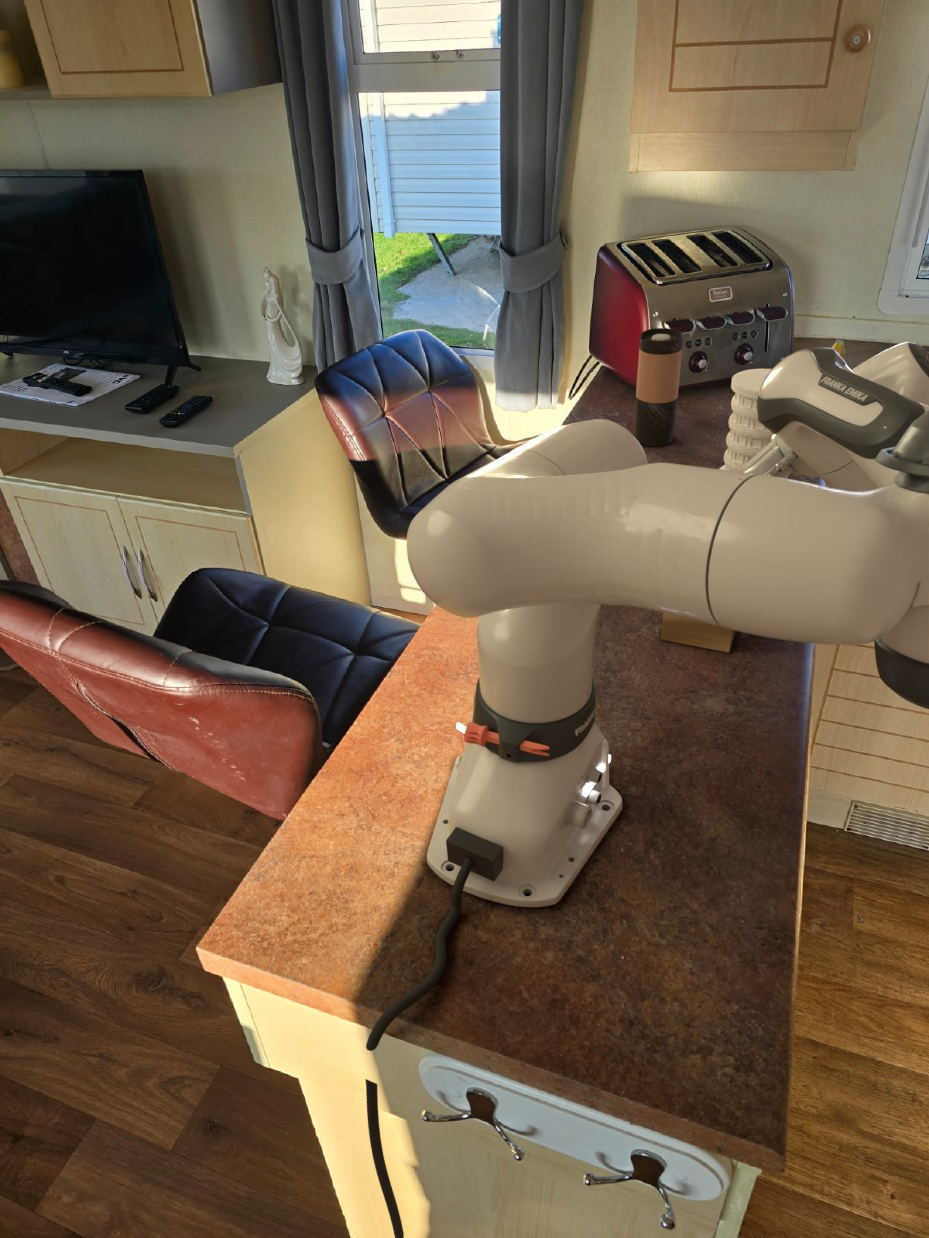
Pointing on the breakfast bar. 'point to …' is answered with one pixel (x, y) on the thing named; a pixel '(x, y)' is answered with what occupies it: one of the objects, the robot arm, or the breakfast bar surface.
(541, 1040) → the breakfast bar surface
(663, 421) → the travel mug
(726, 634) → the rack
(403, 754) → the breakfast bar surface
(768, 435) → the decorative container
